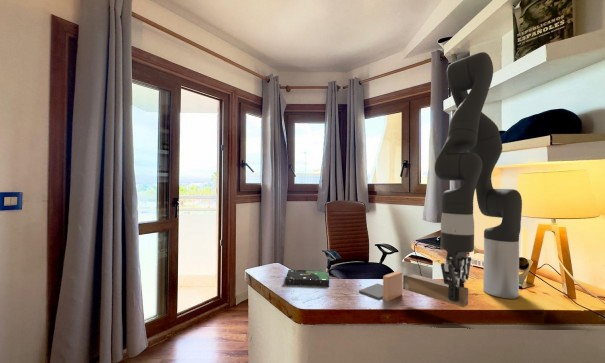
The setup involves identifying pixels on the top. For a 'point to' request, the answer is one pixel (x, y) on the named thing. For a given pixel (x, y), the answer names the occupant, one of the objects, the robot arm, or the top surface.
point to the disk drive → (307, 278)
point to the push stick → (433, 289)
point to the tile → (392, 285)
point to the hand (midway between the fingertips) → (456, 298)
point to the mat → (373, 291)
